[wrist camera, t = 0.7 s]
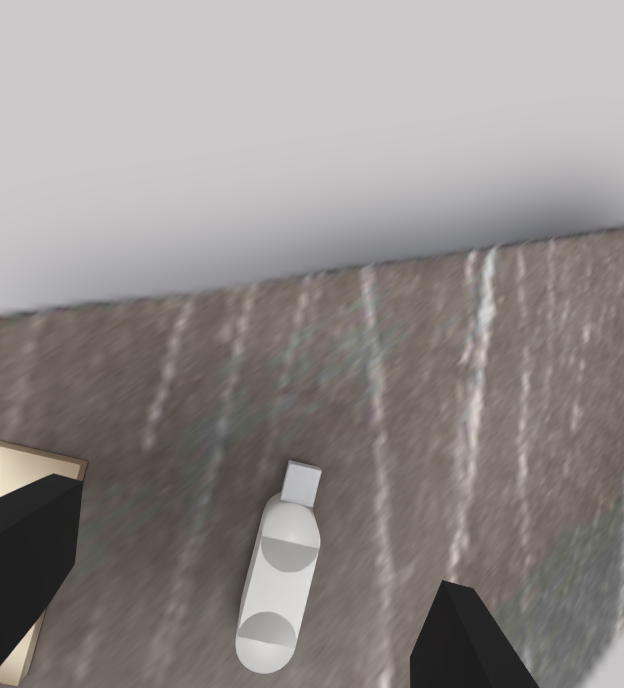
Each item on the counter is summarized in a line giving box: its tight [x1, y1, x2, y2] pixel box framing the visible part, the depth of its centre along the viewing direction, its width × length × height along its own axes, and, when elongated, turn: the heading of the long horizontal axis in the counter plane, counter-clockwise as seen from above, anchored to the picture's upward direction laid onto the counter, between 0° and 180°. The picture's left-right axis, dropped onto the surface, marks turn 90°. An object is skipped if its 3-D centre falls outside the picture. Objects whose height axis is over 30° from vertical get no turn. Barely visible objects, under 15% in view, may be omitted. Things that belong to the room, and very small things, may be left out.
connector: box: [235, 460, 321, 673], centre depth 25 cm, size 10×3×4 cm, turn 166°
